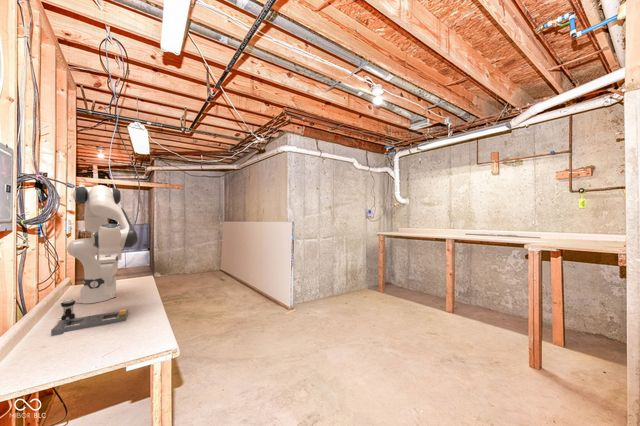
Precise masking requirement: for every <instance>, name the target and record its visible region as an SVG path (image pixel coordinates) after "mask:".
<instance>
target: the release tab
mask: <svg viewBox="0 0 640 426" xmlns="http://www.w3.org/2000/svg"><path fill="white" fill-rule="evenodd" d="M126 310H127V309H120V310H118V311H119V315H125V314H126Z"/></svg>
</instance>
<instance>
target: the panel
mask: <svg viewBox="0 0 640 426" xmlns="http://www.w3.org/2000/svg"><path fill="white" fill-rule="evenodd" d="M119 311H120V310H118V311H112V312H106V313H99V314H94V315H88V316H87V315H86V316H80V317H75V318H74V319H68V320H62V321H58V323H56V324H55V326H53V328H52V329H51V331H50V337H54V336H60V335H64V334H65V333H67V332H72V331H78V330H79V331H80V330H83V329H89V328H94V327H100V326H106V325H111V324H112V325H113V324H116V323H117V324H118V323H122V322H126V320H127V319H128V315H129V309H126V314H125V315H119Z"/></svg>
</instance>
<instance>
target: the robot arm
mask: <svg viewBox="0 0 640 426" xmlns="http://www.w3.org/2000/svg"><path fill="white" fill-rule="evenodd" d="M72 198H73V201H74V203H76V204H77V205H85V206H84V218H83V220H84V221H83V222H84V229H85V230H86V231H87V232H91V233H93V234H92V237H87V238H78V239H77V238H76V239H74V240H71V241H70V242H69V243H68V245H67V250H66V251H67V253H68V254H69V255H70V256H71V257H73V258H75V259H77V260H78V261H80V263H81V264H82V267H83V273H84V276H83V277H84V278H83V282H82V283H83V286H82V287H81V288H80V289H79V299H78V300H75V301H76V302H75V304H84V305H85V304H95V303H100V302H104V301H108V300H111V299H114V297H115V298H117V297H116V293H115V294H107V295H105V290H104V280H106V282H107V286H111V285H112V277H113V276H116V273H117V272H118V271H119V268H118V267H119V261H121V260H122V248H125V249H126V248H128V249H129V248H133V247H134V246H135V245H136V244H137V243H138V241H139V240H138V239H139V237H138V233H137V231H136V230H135V229H134V227H133V225H132V223H131V221H130V219H129V216H128V214H127V213H126V211H125V208H123V207H120V206H119V205H118V204H120V203H121V200H122V193H121V191H120V189H119V188H115V187H108V186H106V185H102V184H97V185H94V186H78V187H76V188H74V190H73V193H72ZM108 219H110V220H114V221H116V222H118V223H119V224H116V223H108ZM96 256H98V259H96Z"/></svg>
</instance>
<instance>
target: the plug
mask: <svg viewBox="0 0 640 426" xmlns="http://www.w3.org/2000/svg"><path fill="white" fill-rule="evenodd" d="M104 290H105V295H107V294H115V295H116V293H117V275H115V276H113V277H112V285H111V286H107V282H106V280H104Z"/></svg>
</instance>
